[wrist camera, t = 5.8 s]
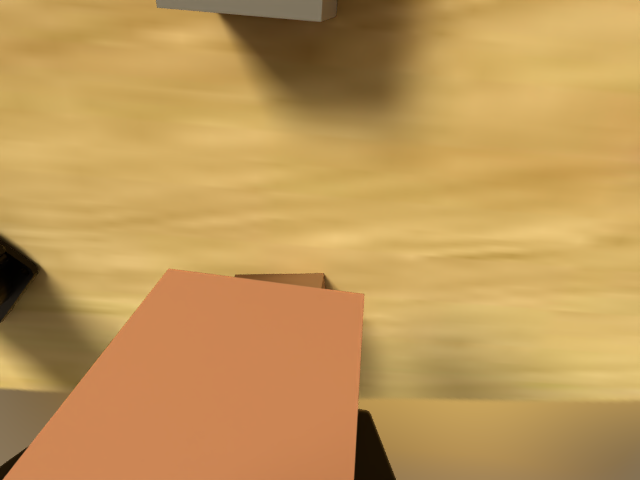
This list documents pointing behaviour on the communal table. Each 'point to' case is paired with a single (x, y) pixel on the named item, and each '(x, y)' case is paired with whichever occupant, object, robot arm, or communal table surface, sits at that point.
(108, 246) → the communal table surface
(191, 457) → the terracotta block
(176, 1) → the gray block
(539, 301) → the communal table surface
